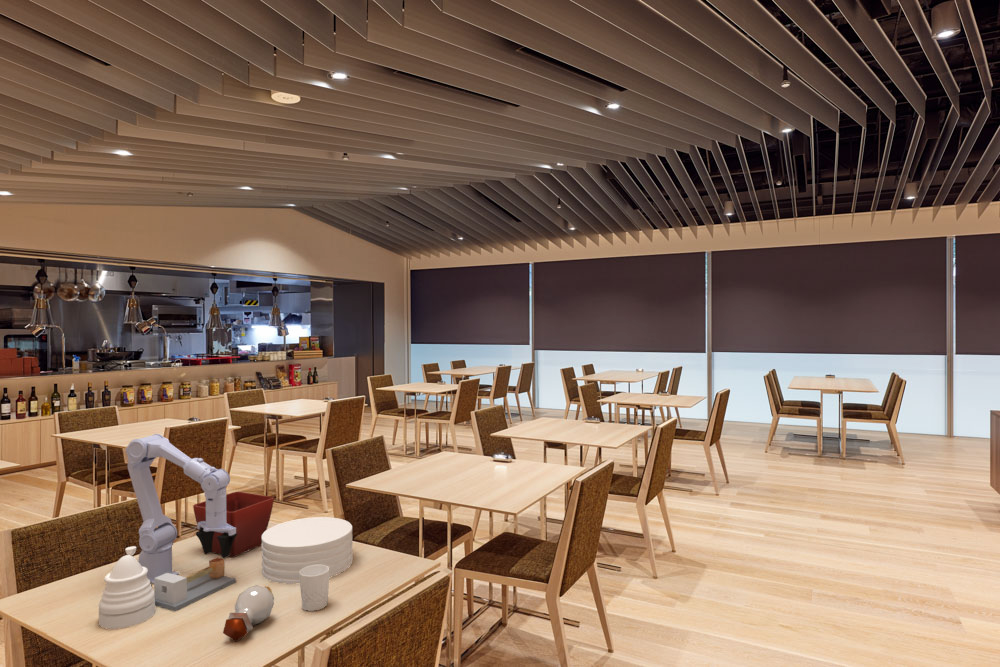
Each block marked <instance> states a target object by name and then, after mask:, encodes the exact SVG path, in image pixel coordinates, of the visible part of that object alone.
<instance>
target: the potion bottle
mask: <svg viewBox="0 0 1000 667" xmlns="http://www.w3.org/2000/svg"><path fill="white" fill-rule="evenodd" d="M272 594H273V593H272ZM272 594H271V593H270V591H269V590H268V589H267V588H265V586H262V585H258V584H257V585H253V586H250V587H247V588H246V589H244V591H242V592H240V593H239V595H238V596H237V599H236V601H235V603H234V604H235V605H234V612H229V616H228V619H227V618H226V619H225V623H224V627H223V631H222V634H224V635H225V636H227V637H228V638H230V639H231V640H233V641H234V642H238V641H239V640H241V639H243V637H245V636H247V635H248V633H249V632H250V631H252V630H253V629H254V627H253V626H254V625H258V624H261V623H262V622H263V621H264V620H266V619H267V618H269V617H270V616H271V614H272V610H273V608H274V604H275V603H274V600H273V597H274V594H273V595H272Z"/></svg>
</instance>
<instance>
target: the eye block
mask: <svg viewBox="0 0 1000 667" xmlns="http://www.w3.org/2000/svg"><path fill="white" fill-rule="evenodd" d="M235 583H236V578H235V577H231V576H227V575H224V576H222V577H220V578H217V579H214V578H210V577H209V574H206V575H204V576H202V577H200V578H197V579H195V580H193V581H191V582H188V583H187V578H186V576H182V575H179V574H178V575H174V574H170V573H165V574H163V575H161V576H158V577H156V578H154V583H153V590H154V593H155V595H154V597H155V598H154V599H155V607H159V608H162V609H167V610H169V611H173V612H177V611H179V610H181V609H184V608H185V607H187V606H190V605H191V604H193V603H196V602H198V601H200V600H202V599H204V598H207V597H208V596H210V595H212V594H214V593H216V592H218V591H221V590H222V589H225V588H227V587H230V585H233V584H235Z"/></svg>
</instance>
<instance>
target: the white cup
mask: <svg viewBox="0 0 1000 667" xmlns="http://www.w3.org/2000/svg"><path fill="white" fill-rule="evenodd" d="M329 584H330V578H329V567H328V566H326V565H311V566H307V567H305V568H303V569H301V570H300V584H299V588H300V598H301V607H302V609H303V611H306V610H308V611H307V612H315V611H314V610H317V611H320V610H319V609H321V610H323V609H324V607H325V606H326V607H327V605H328V604H329V602H328V601H329V586H330V585H329ZM326 607H325V608H326ZM322 608H323V609H322Z"/></svg>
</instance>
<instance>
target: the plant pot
mask: <svg viewBox="0 0 1000 667" xmlns="http://www.w3.org/2000/svg"><path fill="white" fill-rule="evenodd" d="M274 499H275V498H274V496H268V495H262V494H255V493H248V492H242V491H235V492H231V493H226V519H227V523H228V524H229V525H231V526H233V527H236V532H237V536H236V537H235V539H234V541H233V544H232V546H231V550H230V554H229V556H228V557H230V558H232V557H237V556H239V555H241V553H242V554H244V553H246V552H248V550H249V551H250V550H253V549H255V548H257V546H258V547H259V546H262V534H263V533H264V532H265V531H266V530H267V529H268V526H269V523H270V519H271V515H272V512H273V511H272V510H273V506H274V502H275V501H274ZM192 506H193V507H192V508H193V513H194V518H195V521H196V524H197V523H198V522H201V521H206V500H204V501H202V502H198V503H195V504H193V505H192ZM199 530H200V529H198V531H199ZM220 535H223V533H220V532H214V536H213V543H212V552H211V553H212V554H217V555H221V547H220V543H219V540H218V538H217V537H218V536H220Z"/></svg>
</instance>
